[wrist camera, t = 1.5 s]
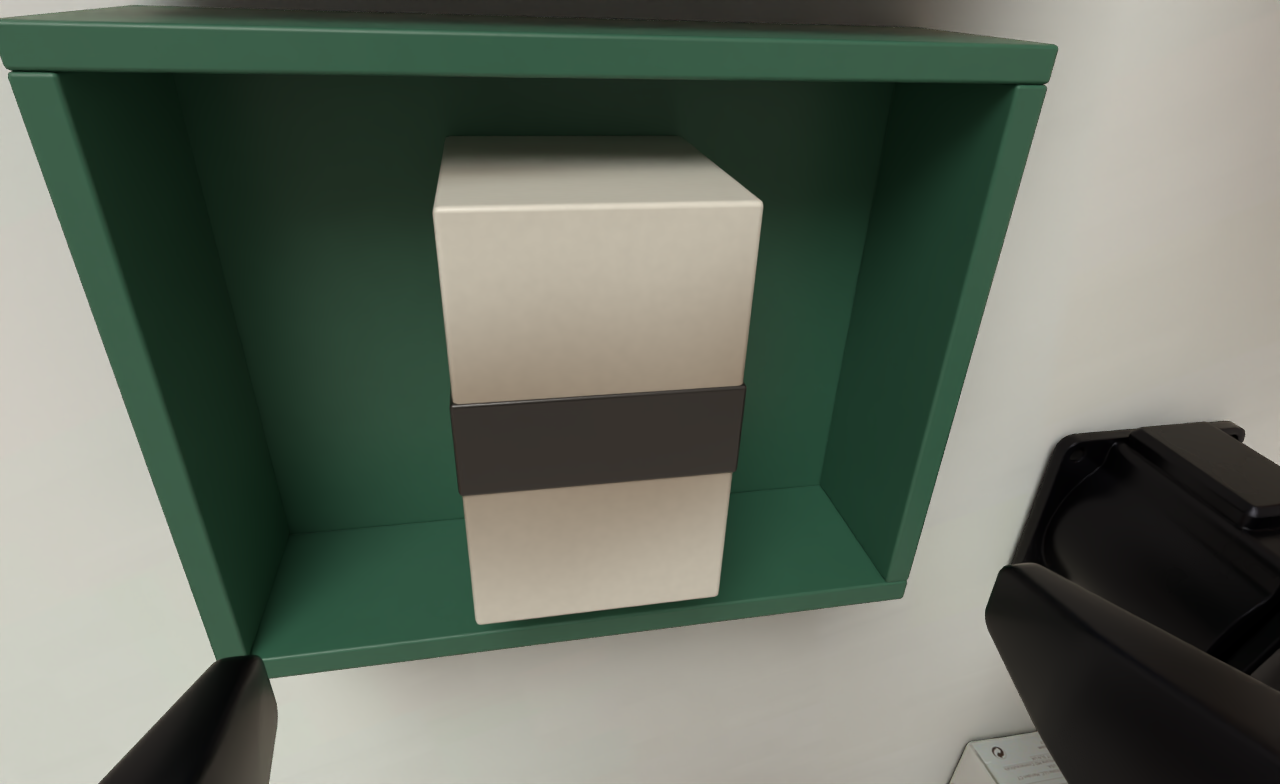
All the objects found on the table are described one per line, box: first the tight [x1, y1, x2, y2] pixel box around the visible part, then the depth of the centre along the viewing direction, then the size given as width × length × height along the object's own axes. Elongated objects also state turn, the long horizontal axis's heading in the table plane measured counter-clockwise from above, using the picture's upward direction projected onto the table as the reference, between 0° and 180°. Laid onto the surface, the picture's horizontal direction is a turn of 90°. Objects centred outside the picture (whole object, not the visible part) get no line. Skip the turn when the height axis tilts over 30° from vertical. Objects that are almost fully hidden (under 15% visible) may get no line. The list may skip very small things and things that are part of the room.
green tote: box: [0, 5, 1058, 679], centre depth 15 cm, size 12×15×4 cm
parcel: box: [432, 136, 763, 625], centre depth 15 cm, size 8×5×5 cm, turn 178°
